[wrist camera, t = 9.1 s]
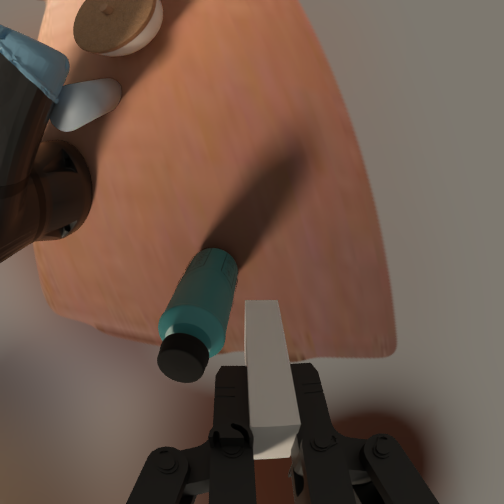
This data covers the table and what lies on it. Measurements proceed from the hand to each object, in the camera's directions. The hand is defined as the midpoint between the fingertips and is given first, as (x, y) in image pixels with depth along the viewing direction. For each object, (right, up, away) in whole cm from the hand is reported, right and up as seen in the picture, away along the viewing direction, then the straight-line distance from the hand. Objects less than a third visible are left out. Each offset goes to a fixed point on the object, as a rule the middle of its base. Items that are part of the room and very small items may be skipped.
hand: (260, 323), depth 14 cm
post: (-20, +24, +18) cm, 36 cm away
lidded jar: (-16, +33, +14) cm, 39 cm away
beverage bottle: (-5, +2, +26) cm, 27 cm away
